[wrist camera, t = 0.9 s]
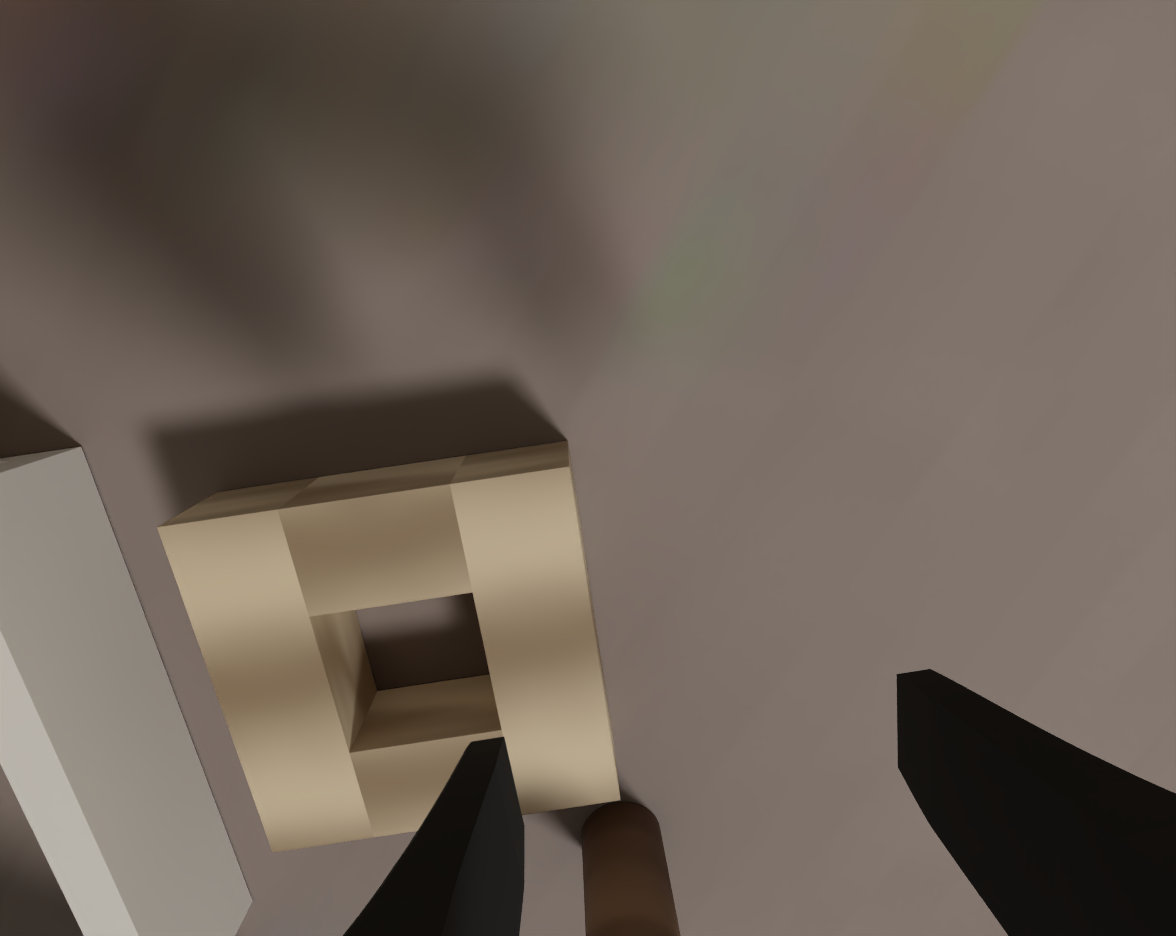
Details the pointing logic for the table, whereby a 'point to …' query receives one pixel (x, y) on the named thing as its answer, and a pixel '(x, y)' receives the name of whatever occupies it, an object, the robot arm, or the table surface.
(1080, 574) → the table surface
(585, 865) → the dowel
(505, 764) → the robot arm
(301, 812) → the block
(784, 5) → the table surface
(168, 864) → the white rectangular slab
